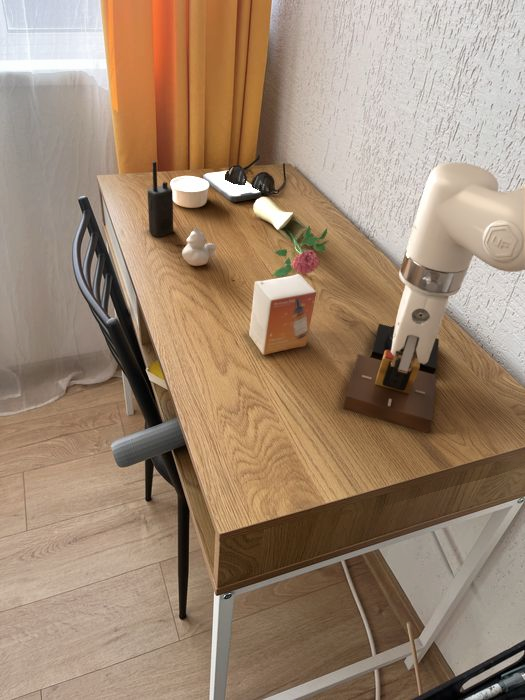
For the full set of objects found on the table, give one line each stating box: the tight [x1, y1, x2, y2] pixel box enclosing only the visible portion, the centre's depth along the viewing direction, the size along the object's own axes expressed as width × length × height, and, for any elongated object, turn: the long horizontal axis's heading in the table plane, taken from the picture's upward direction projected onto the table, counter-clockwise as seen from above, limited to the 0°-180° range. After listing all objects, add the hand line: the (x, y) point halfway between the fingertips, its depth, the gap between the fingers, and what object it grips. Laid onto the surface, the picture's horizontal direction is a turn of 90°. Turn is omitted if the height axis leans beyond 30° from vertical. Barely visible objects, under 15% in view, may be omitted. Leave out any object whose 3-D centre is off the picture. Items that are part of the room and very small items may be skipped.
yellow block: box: [375, 350, 420, 394], centre depth 74 cm, size 5×2×5 cm, turn 72°
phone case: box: [202, 170, 262, 203], centre depth 131 cm, size 9×2×16 cm
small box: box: [248, 273, 317, 356], centre depth 82 cm, size 8×6×10 cm
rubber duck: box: [181, 225, 217, 267], centre depth 100 cm, size 5×7×8 cm
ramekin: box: [170, 175, 210, 209], centre depth 122 cm, size 9×9×4 cm
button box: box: [369, 323, 440, 375], centre depth 85 cm, size 10×8×4 cm
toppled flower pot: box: [252, 196, 329, 277], centre depth 105 cm, size 12×12×35 cm
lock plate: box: [342, 353, 437, 433], centre depth 77 cm, size 12×10×3 cm
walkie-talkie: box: [147, 160, 174, 237], centre depth 106 cm, size 5×3×15 cm
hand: (394, 379), depth 75 cm, fingers closed on yellow block, 2 cm apart
